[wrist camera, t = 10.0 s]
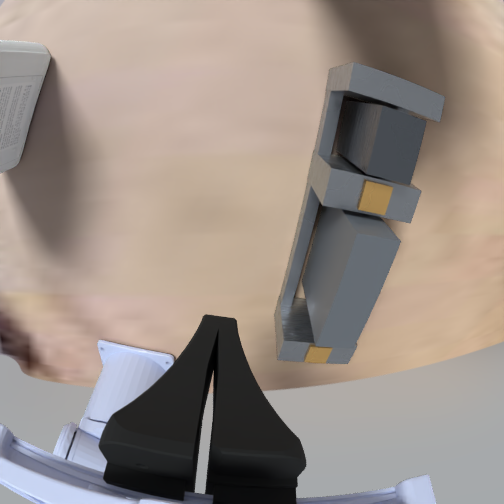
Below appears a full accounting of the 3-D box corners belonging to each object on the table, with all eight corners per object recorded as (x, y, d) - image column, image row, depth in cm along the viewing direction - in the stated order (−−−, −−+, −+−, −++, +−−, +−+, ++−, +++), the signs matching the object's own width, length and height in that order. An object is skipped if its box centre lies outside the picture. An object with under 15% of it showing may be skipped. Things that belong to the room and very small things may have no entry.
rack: (336, 321, 26) (351, 374, 20) (274, 314, 25) (278, 370, 20) (406, 93, 17) (456, 98, 11) (329, 69, 16) (360, 60, 11)
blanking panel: (332, 284, 24) (353, 348, 18) (301, 280, 24) (315, 346, 18) (360, 195, 20) (400, 241, 14) (326, 188, 20) (357, 233, 14)
